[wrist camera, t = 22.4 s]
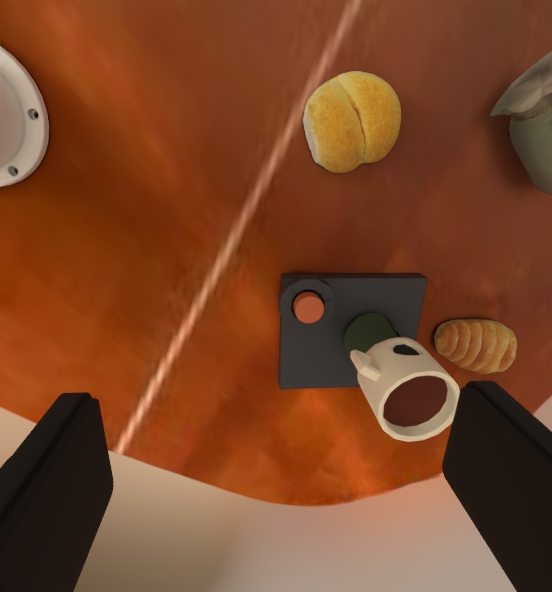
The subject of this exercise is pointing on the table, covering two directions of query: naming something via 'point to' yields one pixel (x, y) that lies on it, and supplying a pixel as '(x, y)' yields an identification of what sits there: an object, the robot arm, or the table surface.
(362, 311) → the scale
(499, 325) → the pastry
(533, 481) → the robot arm
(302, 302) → the button
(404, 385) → the character mug
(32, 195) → the table surface
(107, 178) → the table surface
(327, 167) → the bread roll
